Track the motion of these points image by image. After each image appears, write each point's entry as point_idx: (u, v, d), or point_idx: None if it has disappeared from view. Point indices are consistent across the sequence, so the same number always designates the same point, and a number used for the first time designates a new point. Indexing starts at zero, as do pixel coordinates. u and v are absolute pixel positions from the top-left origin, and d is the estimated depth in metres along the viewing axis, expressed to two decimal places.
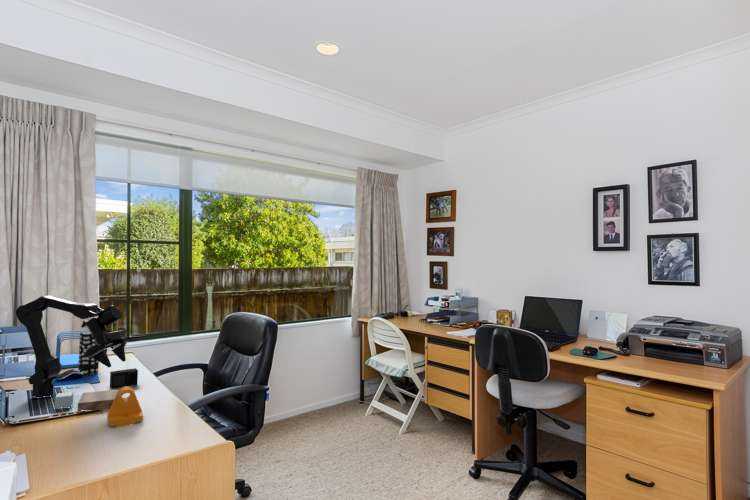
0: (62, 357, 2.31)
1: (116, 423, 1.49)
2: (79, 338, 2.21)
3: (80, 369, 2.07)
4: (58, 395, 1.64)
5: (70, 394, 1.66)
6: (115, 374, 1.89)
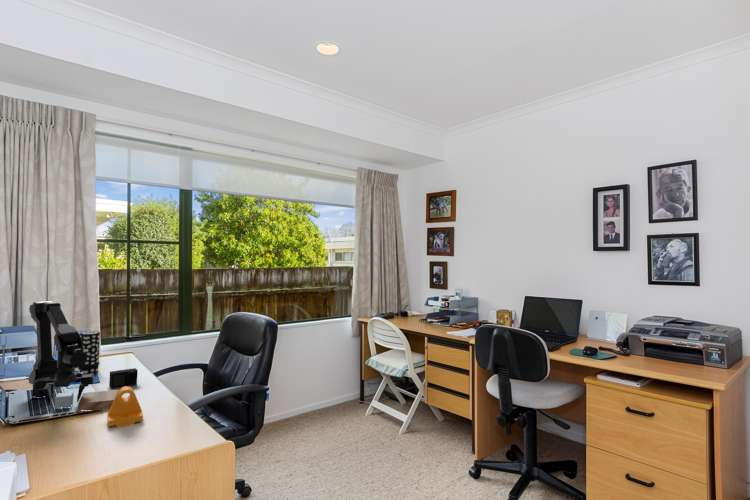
0: None
1: (116, 423, 1.49)
2: None
3: (80, 369, 2.07)
4: (58, 395, 1.64)
5: (70, 394, 1.66)
6: (115, 374, 1.89)
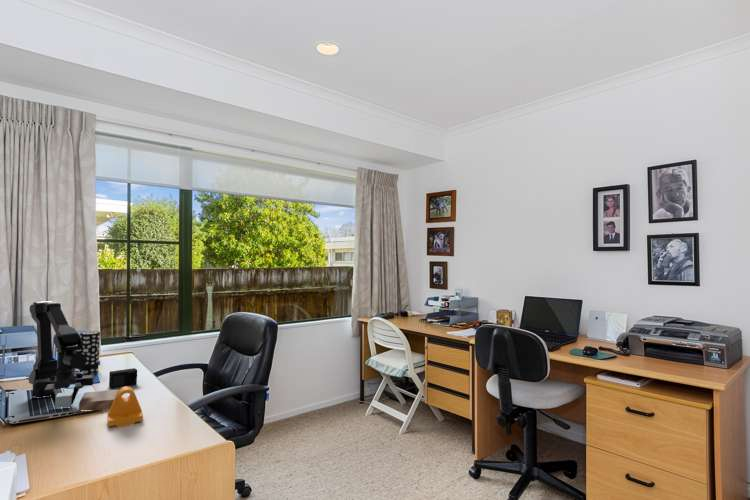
0: None
1: (116, 423, 1.49)
2: None
3: (80, 369, 2.07)
4: (58, 395, 1.64)
5: (70, 394, 1.66)
6: (115, 374, 1.89)
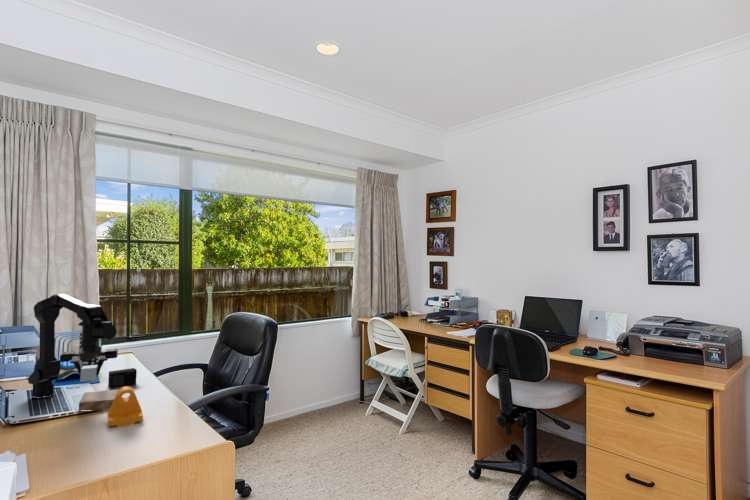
0: (58, 358, 2.28)
1: (116, 423, 1.49)
2: None
3: None
4: (83, 367, 1.67)
5: (95, 366, 1.68)
6: (114, 374, 1.89)
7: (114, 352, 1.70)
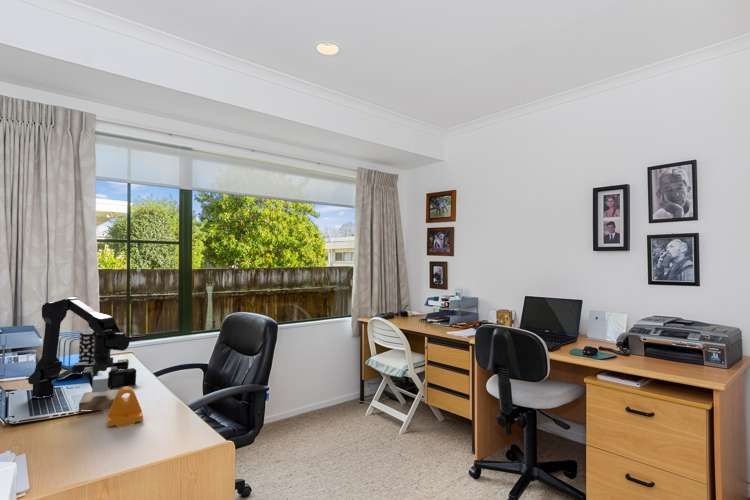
0: None
1: (116, 423, 1.49)
2: None
3: None
4: (95, 378, 1.68)
5: (106, 377, 1.70)
6: (114, 374, 1.89)
7: (125, 363, 1.71)
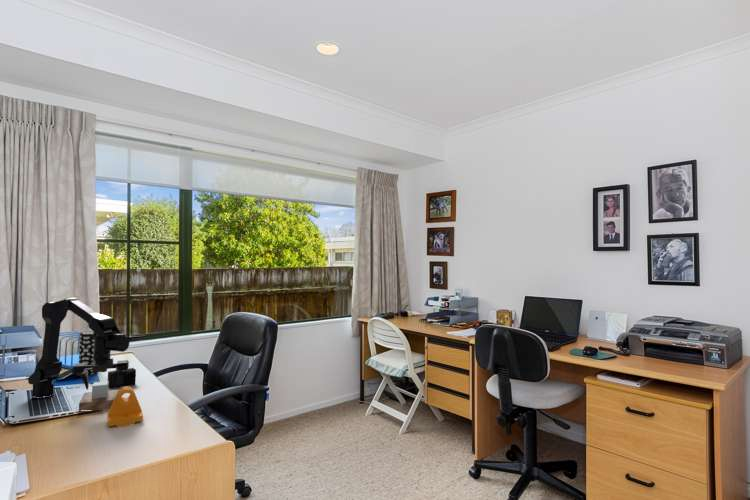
0: None
1: (116, 423, 1.49)
2: None
3: None
4: (94, 384, 1.68)
5: (106, 383, 1.70)
6: (114, 374, 1.89)
7: (125, 364, 1.71)
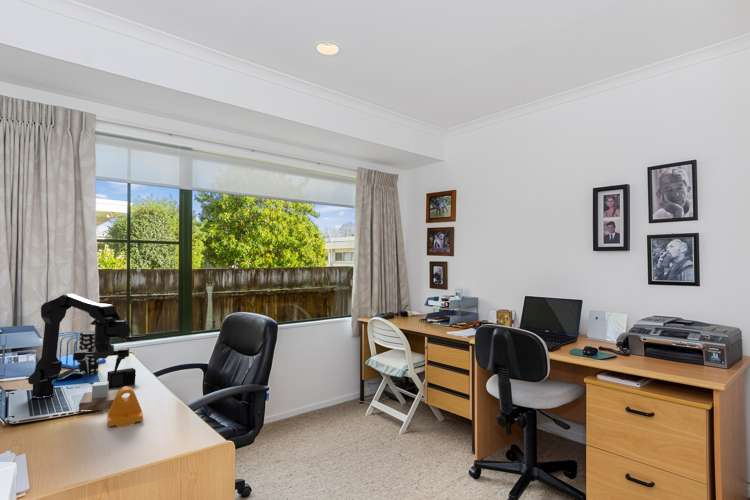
0: None
1: (116, 423, 1.49)
2: None
3: (80, 369, 2.07)
4: (94, 384, 1.68)
5: (106, 383, 1.70)
6: (113, 374, 1.89)
7: (126, 351, 1.71)
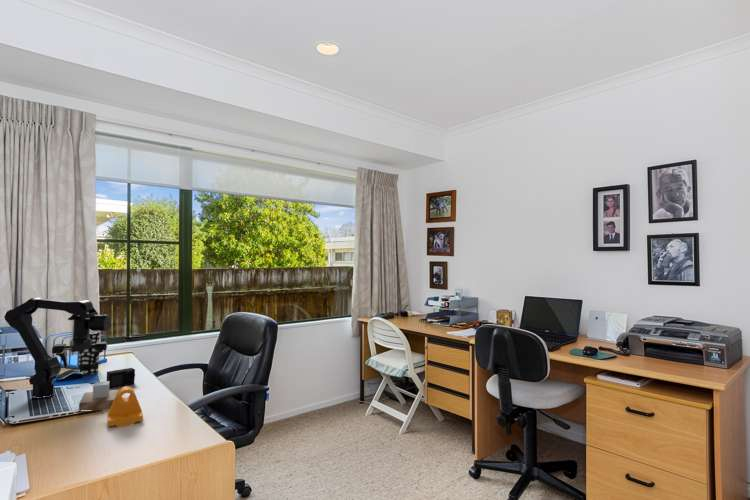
0: None
1: (116, 423, 1.49)
2: None
3: (80, 369, 2.07)
4: (95, 384, 1.68)
5: (107, 383, 1.70)
6: (113, 374, 1.90)
7: (104, 345, 1.79)
